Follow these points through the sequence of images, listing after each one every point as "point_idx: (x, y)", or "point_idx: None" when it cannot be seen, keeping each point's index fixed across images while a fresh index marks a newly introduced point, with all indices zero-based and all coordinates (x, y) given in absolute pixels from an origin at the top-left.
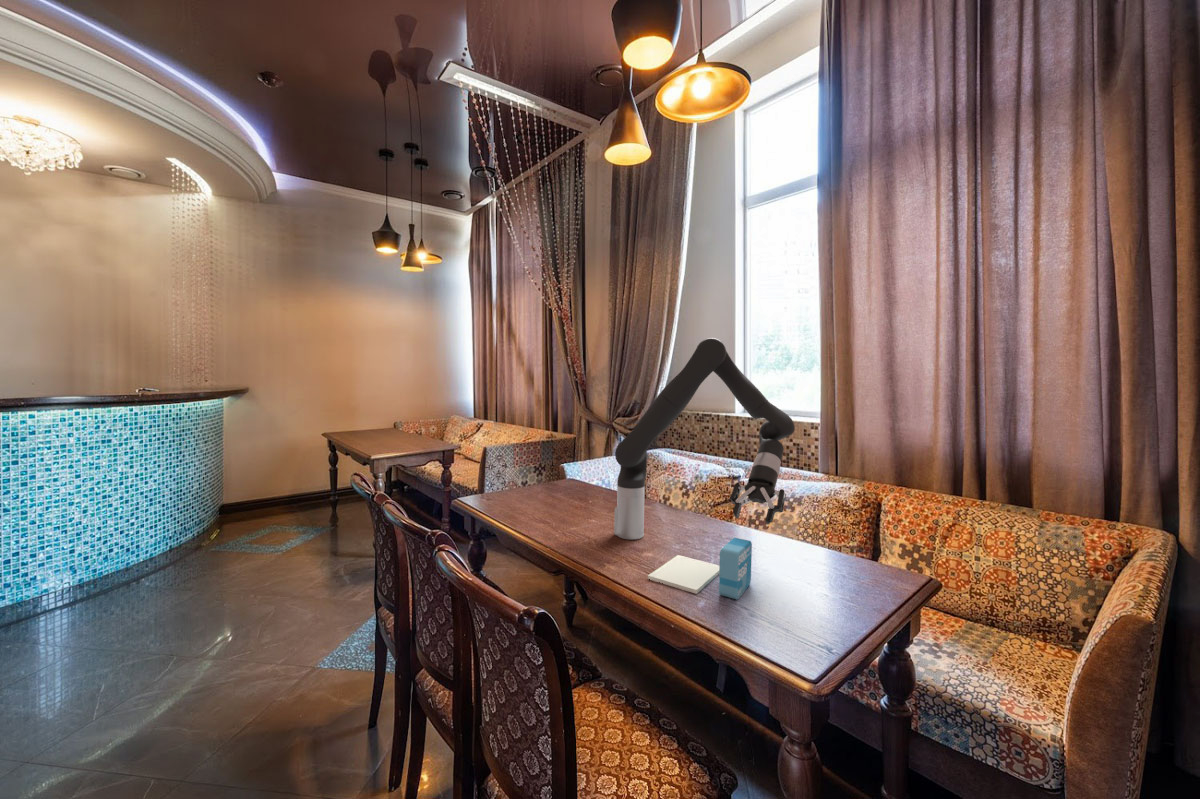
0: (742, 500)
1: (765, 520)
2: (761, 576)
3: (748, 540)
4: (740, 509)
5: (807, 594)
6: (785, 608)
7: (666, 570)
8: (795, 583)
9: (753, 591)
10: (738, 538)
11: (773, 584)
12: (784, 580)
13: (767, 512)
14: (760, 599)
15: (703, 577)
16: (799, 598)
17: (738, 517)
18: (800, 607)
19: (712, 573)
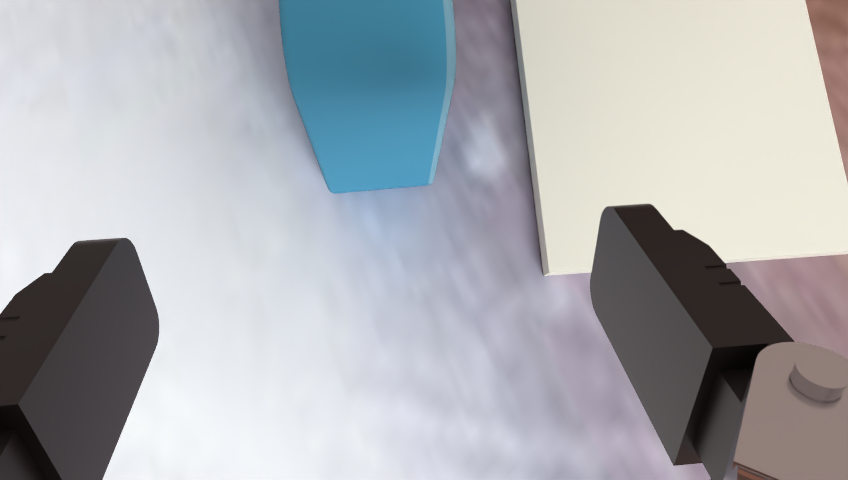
0: (733, 453)
1: (128, 240)
2: (319, 350)
3: (303, 28)
4: (653, 394)
5: (17, 287)
6: (89, 50)
7: (756, 4)
8: None
9: (286, 123)
10: (403, 14)
11: (221, 286)
12: (181, 392)
13: (58, 327)
14: (224, 62)
15: (556, 52)
16: (48, 205)
17: (595, 305)
18: (24, 108)
19: (547, 133)
